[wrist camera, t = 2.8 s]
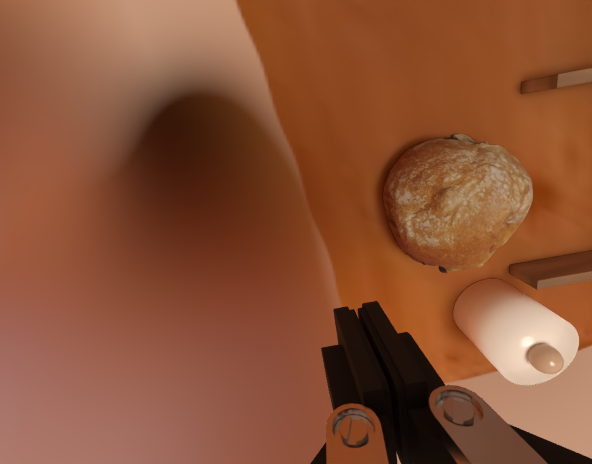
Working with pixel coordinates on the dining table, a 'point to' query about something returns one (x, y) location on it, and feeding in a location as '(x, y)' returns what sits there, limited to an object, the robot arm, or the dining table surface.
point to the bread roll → (456, 201)
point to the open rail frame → (566, 266)
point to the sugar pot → (515, 332)
